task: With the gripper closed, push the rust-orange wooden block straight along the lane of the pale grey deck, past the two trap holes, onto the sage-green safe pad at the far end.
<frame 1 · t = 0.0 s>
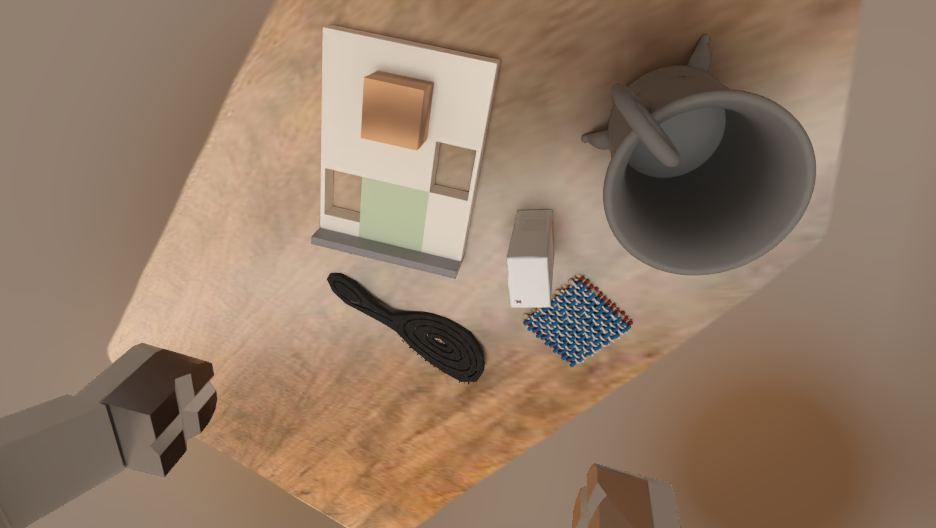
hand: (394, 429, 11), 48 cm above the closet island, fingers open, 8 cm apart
skincare box: (536, 230, 61), on the closet island
block: (403, 105, 54), point 2 cm above the closet island, touching trap deck
trap deck: (404, 152, 59), on the closet island
mug: (659, 113, 52), on the closet island
hairbrush: (409, 318, 72), on the closet island
woven mat: (577, 316, 66), on the closet island
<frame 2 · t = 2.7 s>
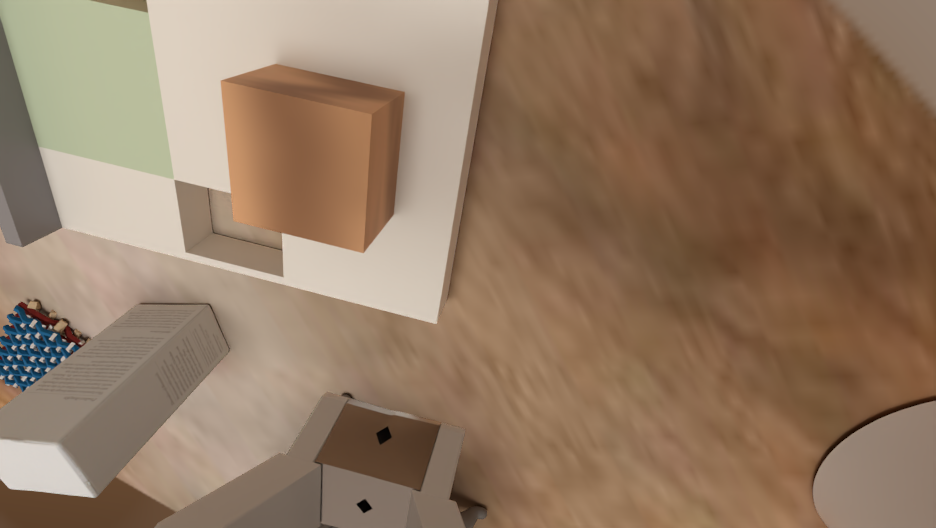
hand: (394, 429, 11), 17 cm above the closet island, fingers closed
skincare box: (188, 325, 36), on the closet island
block: (337, 143, 24), point 2 cm above the closet island, touching trap deck
trap deck: (248, 104, 26), on the closet island
mug: (392, 466, 39), on the closet island
woven mat: (81, 364, 42), on the closet island
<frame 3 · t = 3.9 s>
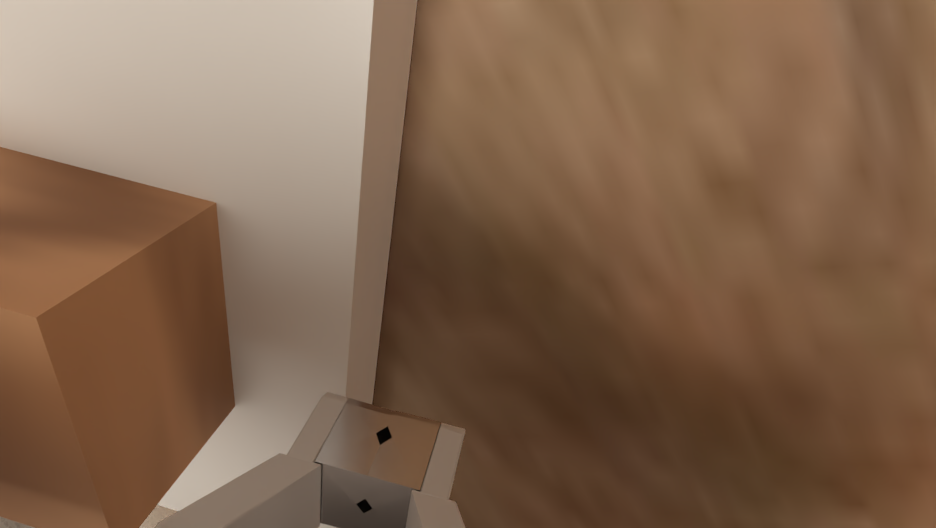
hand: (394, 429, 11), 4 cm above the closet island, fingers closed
block: (109, 285, 12), point 2 cm above the closet island, touching trap deck
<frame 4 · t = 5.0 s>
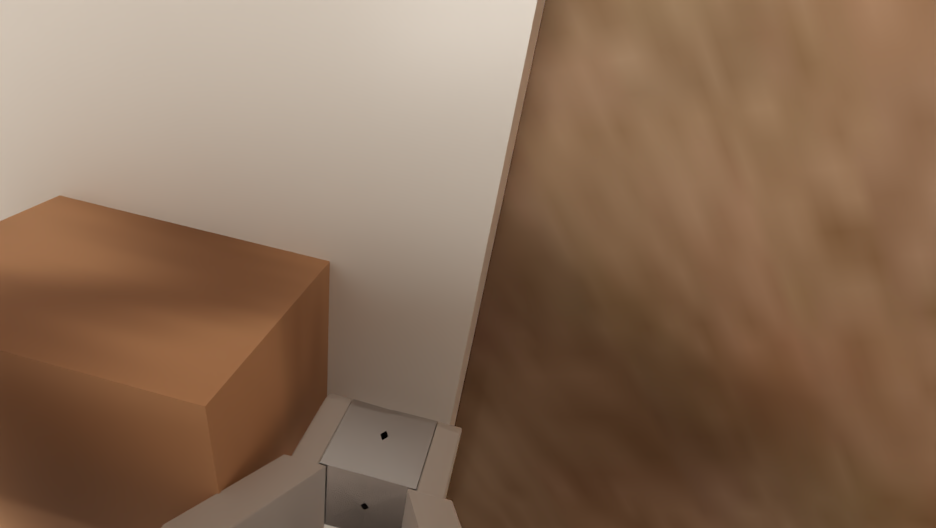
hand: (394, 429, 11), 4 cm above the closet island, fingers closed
block: (207, 338, 12), point 2 cm above the closet island, touching gripper, trap deck
trap deck: (68, 234, 15), on the closet island
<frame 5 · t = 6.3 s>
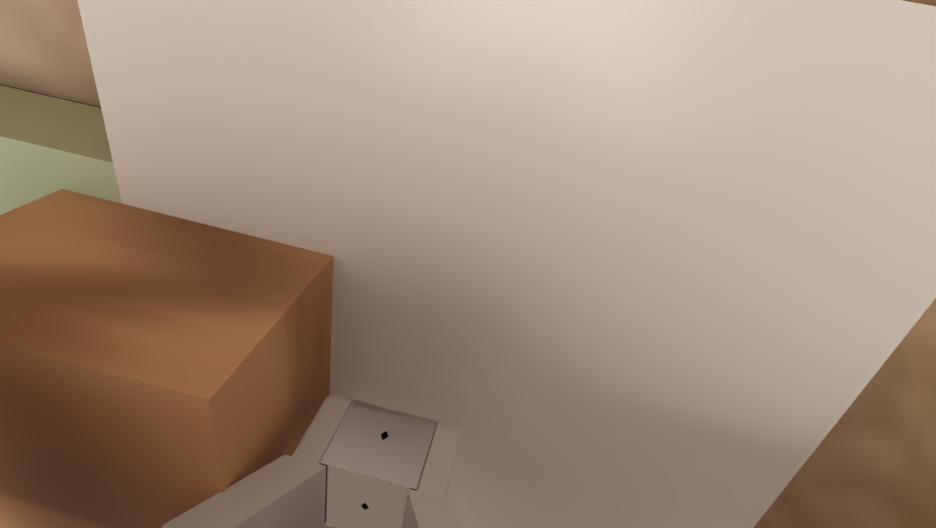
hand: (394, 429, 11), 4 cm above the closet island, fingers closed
block: (209, 333, 12), point 3 cm above the closet island, touching gripper, trap deck
trap deck: (312, 293, 14), on the closet island
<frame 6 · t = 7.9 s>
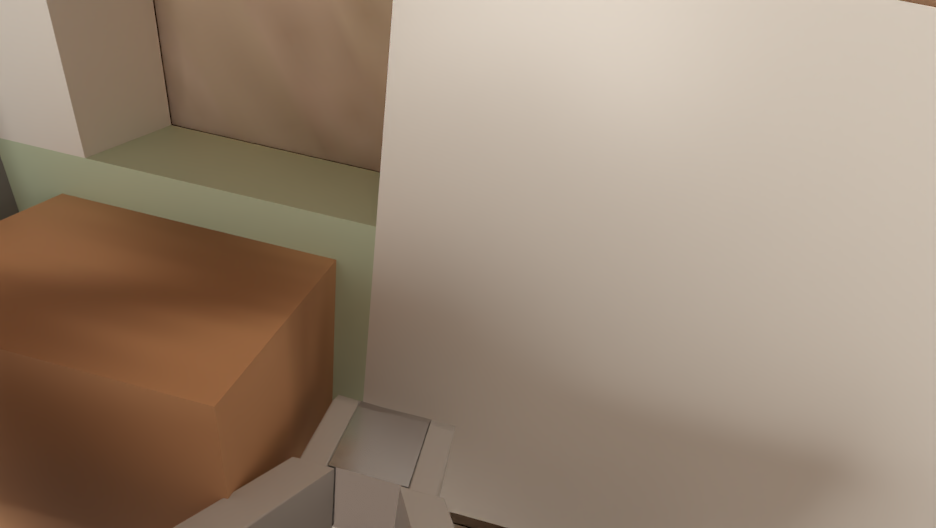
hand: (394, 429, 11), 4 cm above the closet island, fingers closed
block: (211, 338, 12), point 2 cm above the closet island, touching gripper, trap deck
trap deck: (505, 343, 14), on the closet island
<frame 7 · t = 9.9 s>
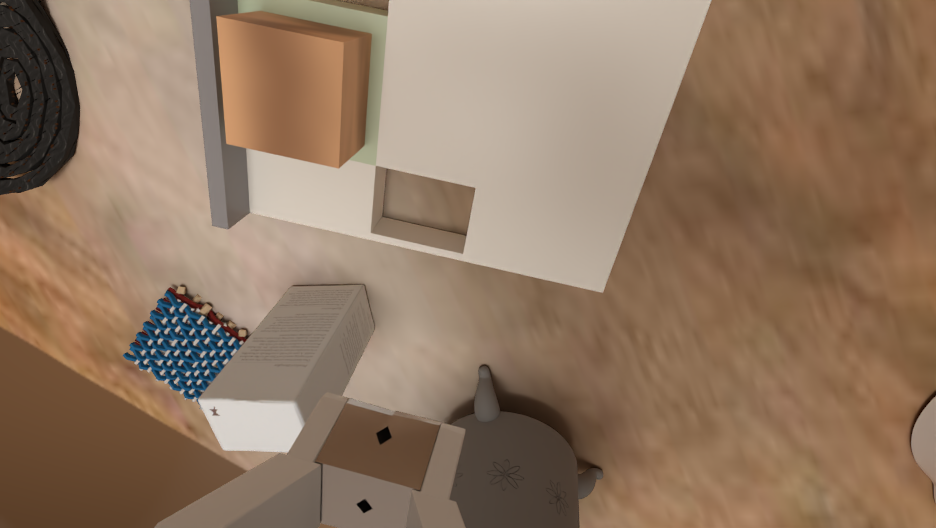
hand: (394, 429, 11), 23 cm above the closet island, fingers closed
skincare box: (336, 306, 39), on the closet island
block: (315, 81, 28), point 2 cm above the closet island, touching trap deck
trap deck: (443, 98, 30), on the closet island
mug: (515, 434, 43), on the closet island
hairbrush: (32, 8, 31), on the closet island
woven mat: (212, 348, 44), on the closet island
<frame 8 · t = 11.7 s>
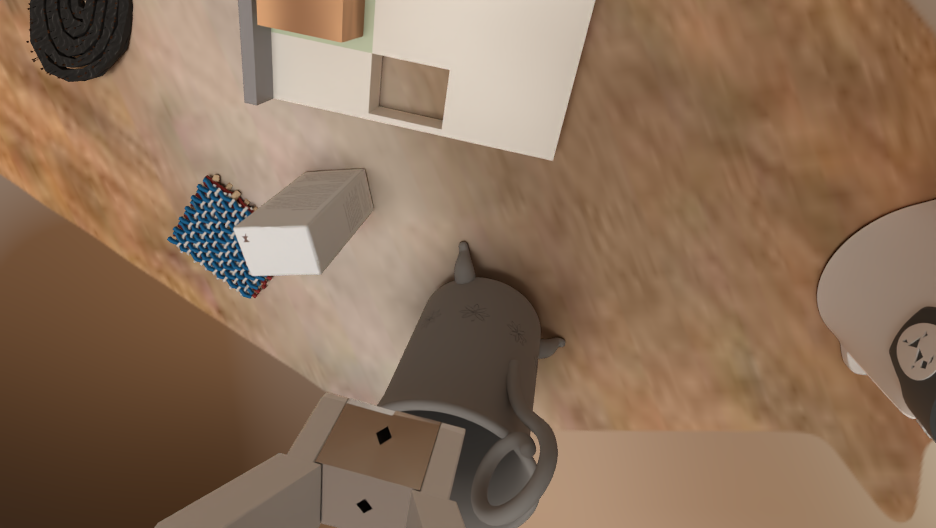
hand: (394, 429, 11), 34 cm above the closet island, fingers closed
skincare box: (342, 190, 47), on the closet island
trap deck: (425, 0, 38), on the closet island
mug: (491, 308, 51), on the closet island
woven mat: (240, 235, 53), on the closet island
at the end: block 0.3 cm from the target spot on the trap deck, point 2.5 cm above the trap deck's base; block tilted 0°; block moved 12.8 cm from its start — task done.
